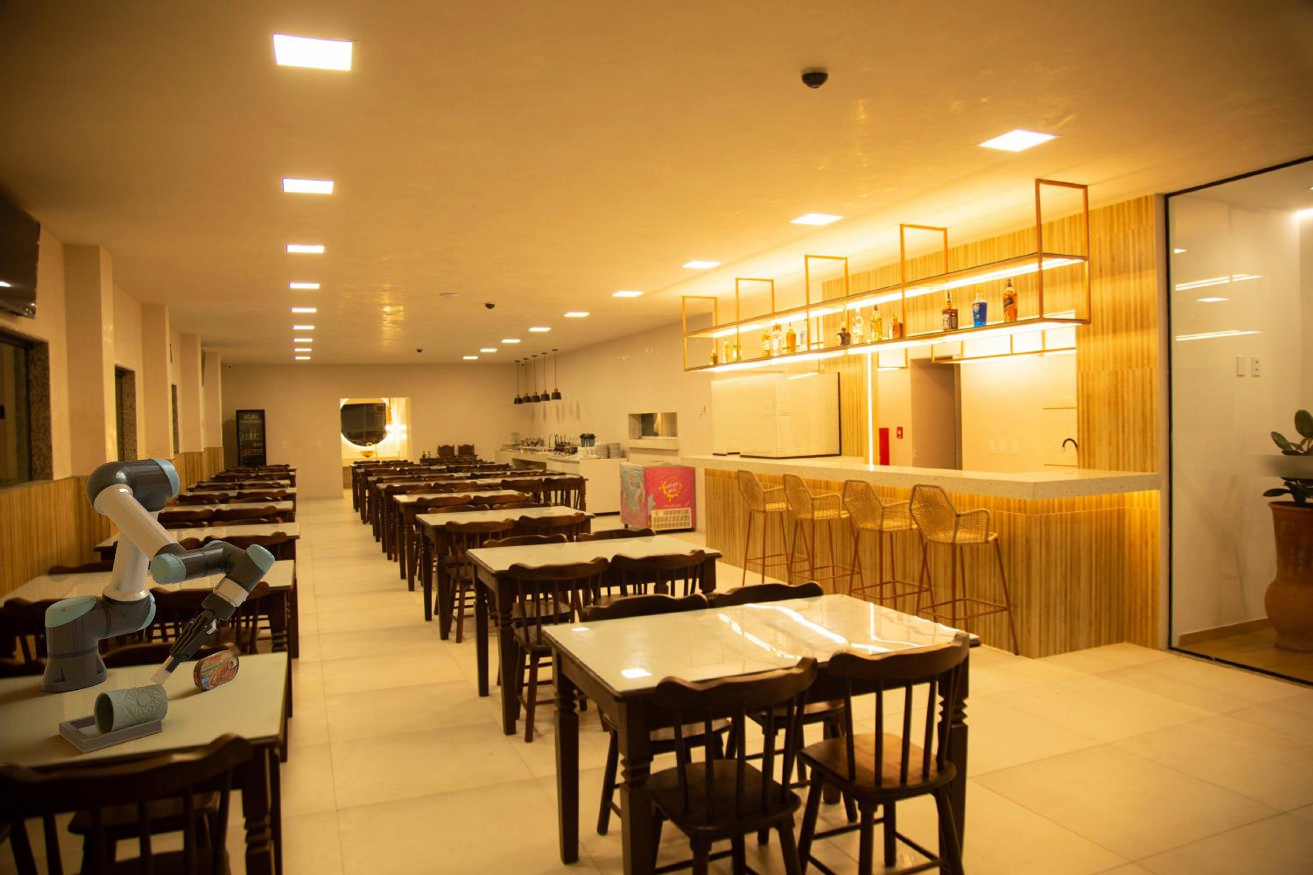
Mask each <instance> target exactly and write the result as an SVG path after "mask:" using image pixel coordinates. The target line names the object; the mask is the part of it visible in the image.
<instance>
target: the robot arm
mask: <svg viewBox="0 0 1313 875" xmlns="http://www.w3.org/2000/svg"><path fill="white" fill-rule="evenodd" d="M180 485H181V484H180V477H179V474H178V472H177V469H176V467H175V466H174V465H173V463H171V461H169V460H167V459H164V458H152V457H151V458H148V459H147V458H146V459H133V460H132V459H131V460H120V461H119V460H115V461H108V462H106V463H103V464H101V465H99V466H98V467H96V468H95V469H94V470H93V471H92V472H91V473H90V474H89V476H88V478H87V480H86V482H85V495H86V499H87V501H88V503H89V504H90V506H91V507H92V508H93V509H94V510H95V511H96V512H97V513H98V514H99V515H100V514H101V515H103V516H106V517H107V518H108V519H110V520H111V521H112V522H113V523H114V525H116V527H117V528H118V529H119V533H118V534H119V535H118V540H117V545H116V551H115V558H114V562H113V568H112V571H111V572H112V573H111V577H110V583H108V584H106V585H105V586H104V587H103V589H102V593H101V597H99V598H96V597H95V596H94V595H79V596H77V597H70V598H65V599H63V600H59V601H57V602H55V603H53V604H51V605H50V606H49V607H47V608H46V610H45V619H44V620H45V622H44V626H45V637H46V651H47V662H46V666H45V669H44V671H43V672H44V673H43V676H42V679H41V690H42V691H43V692H49V693H56V692H57V693H58V692H59V693H60V692H69V691H74V690H75V691H76V690H80V689H85V688H88V687H91V686H95V685H98V684H100V683H102V682H104V681H106V680H107V679H108V671H107V670H108V669H107V667H106V664H105V663H104V661H103V658H102V657H101V654H100V652H99V641H101V640H105V639H108V638H113V637H117V636H122V635H126V634H132V633H135V632H137V631H140V630H143V629H145V628H147V627H148V626H149V625H150V624H151V623H152V622H153V619H154V617H155V614H156V608H157V607H156V604H155V602H156V601H155V597H154V595H153V594H152V592H151V591H150V589H149V587H148V586H146V585H145V584H146V581H147V575H148V569H149V573H150V575H151V576H152V580H153V581H154V582H155V583H156V584H158V585H162V586H165V585H170V584H173V585H174V584H179V583H183V582H188V581H191V580H192V581H193V580H197V579H201V578H203V579H204V578H207V577H211V576H217V575H224V576H223V577H222V578H221V579H220V581H218V582H217V584H216V585H215V586H214V588H213V589H212V590H213V591H212V592H211V593H209V594H208V595H207V596H206V597H205V598H204V600H203V601H202V603H201V607H202V608H203V609H204V610H203V611H202V612H201V613H200V614H198V615H197V616H196V617H195V618H193V617H190V619H189V620H188V621H187V623H186V626H185V627H184V629H183V630H182V631H181V633H180V634H179V636H178V637H177V639H176V640H175V641H174V643H173V644H172V645H171V647H170V649H169V650H168V652H169V656H168V657H167V658H166V660H165V661H164V662H163V663H162V664H161V666H160V667H159V668H158V669H157V670H156V672H154V673H153V675H152V677H151V678H149V679H150V681H152V682H154V683H155V684H159V685H161V686H163V685H164V684H165V683H166V682H167V680H169V677H171V675H172V674H173V673H174V672H175V670H176V669H178V667H179V666H180V665H181V663H183V662H185V661H186V662H188V661H189V660H190V659H191V658H192V657H193V656H194V655H195V654H196V653H197V652H198V651H199V650H200V649H201V648H202V647H203V646H204V645H205V644H206V643H207V641H208V640H209V639H211V638H212V637H213V636H214V635H216V633H218V631H219V629H218V628H217V625H218V624H219V623H220V621H221V620H222V621H228V620H229V619H230V618H231V617H232V616H233V614H234V613H235V612H236V607H237V608H238V607H240V606H241V605H242V603H243V602H246V600H247V597H248V596H249V595H250V593H252V591H253V590H254V588H255V587H256V586H257V585H258V584H259V583H260V582H261V580H262V579H263V578H264V577H265V575H266V574H268V573H269V572H268V571H270V570H271V567H272V566H273V565H274V563H275V561H276V560H275V557H274V555H273V554H272V553H271V552H270V551H269V550H267V549H266V548H265V547H263V546H261V545H259V544H251V545H249V547H247V548H246V549H242V548H240V547H238V546H236V545H233V544H231V543H229V542H226V541H222V540H217V539H216V540H212V541H211V540H210V542H208V543H207V544H204V546H203V547H201V548H195V549H188V550H187V549H186V548H185V547H183V545H181V544H180V543H179V541H178V540H177V539H175V538H174V536H172V535H171V533H169V531H168V530H166V529H165V527H164V526H163V525H162V524H161V523H160V522H159V521H158V517H159V514H160V513H161V512H163V511H164V510H165V509H167V508H166V506H167V503H168V500H170V499H173V498H175V497H176V496H177V495H178V493H179V491H180ZM149 564H150V565H149Z"/></svg>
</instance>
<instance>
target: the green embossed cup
mask: <svg viewBox="0 0 1313 875" xmlns="http://www.w3.org/2000/svg"><path fill="white" fill-rule="evenodd" d="M165 689H166V688H165V687H164V686H163V685H162V686H161V685H159V684H157V683H155V684H150V685H145V686H144V685H143V686H138V687H131V688H124V689H123V688H122V689H115V690H108V691H102V692H100V693H99V694H98V695H97V696H96V698H95V702H94V706H93V707H94V708H93V714H94V719H95V724H96V727H97V730H98V732H99V733H100V735H101V734H105V733H108V732H112V731H116V730H120V729H123V728H127V727H131V726H135V725H138V724H142V723H146V722H150V721H153V720H157V719H160V720H161V721H163V720H164V719H165V718H166V717H167V716H166V715H167V714H168V710H169V709H168V708H169V699H168V694H167V691H166V690H165Z"/></svg>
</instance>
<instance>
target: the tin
mask: <svg viewBox="0 0 1313 875" xmlns="http://www.w3.org/2000/svg"><path fill="white" fill-rule="evenodd" d="M239 668H240V660H239V656H238V653H236V651H234V650H232V649H227V650H221V651H218V652H215V653H213V654H211V655H208V656H206V657H204V658H201V659H199V660H198V661H197V662H196V663H195V666H194V668H193V671H192V675H193V682H194V685H195V686H196V688H198V689H200V690H213V689H215V688H217V686H218V685H220V686H221V684H222V685H223V683H224V684H226V683H228V682H230V681H232V680H233V679H234V678H235V677H236V676H237V674H238V672H239ZM225 682H226V683H225ZM218 687H219V686H218Z"/></svg>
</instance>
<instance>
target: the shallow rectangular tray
mask: <svg viewBox="0 0 1313 875" xmlns="http://www.w3.org/2000/svg"><path fill="white" fill-rule="evenodd" d="M162 721H163V720H160V719H157V720H153V721H150V722H146V723H142V724H138V725H135V726H131V727H127V728H123V729H120V730H116V731H112V732H108V733H105V734H101V735H100V733H99V732H98V730H97V727H96V724H95V719H94V713H93V714H90V715H86V716H82V717H81V716H80V717H77V718H73V719H69V720H66V721H62V722H59V723H58V731H59V732H58V733H59V734H58V735H60V736H61V737H62V738H64V739H65V740H66V741H67V742H69V743H70V744H71V745H72V746H74V747H75V748H76V749H78V750H79V752H81V753H82V754H87V753H90V752H94V751H97V750H102V749H105V748H108V747H111V746H115V745H119V744H122V743H125V741H126V742H129V741H133V739H134V740H137V739H140V738H143V737H148V736H151V735H150V734H152V735H154V734H159V733H161V732H163V723H162ZM158 732H159V733H158ZM147 735H148V736H147ZM136 738H137V739H136Z"/></svg>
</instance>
